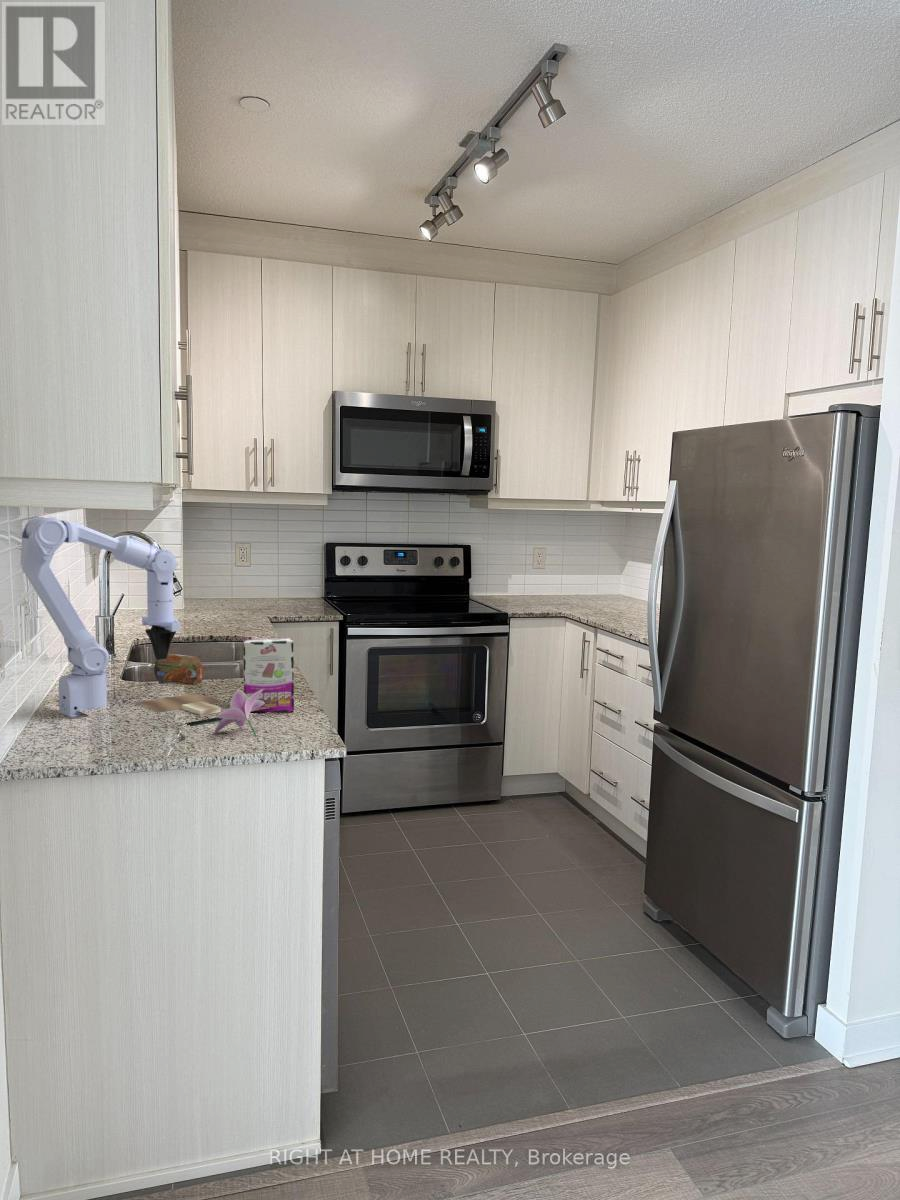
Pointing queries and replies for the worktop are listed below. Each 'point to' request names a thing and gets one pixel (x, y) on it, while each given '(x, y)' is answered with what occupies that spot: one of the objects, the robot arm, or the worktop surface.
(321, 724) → the worktop surface
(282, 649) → the candy bar box
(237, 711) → the lily
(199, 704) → the cream flat block
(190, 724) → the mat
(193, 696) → the board
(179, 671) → the orange green food package
